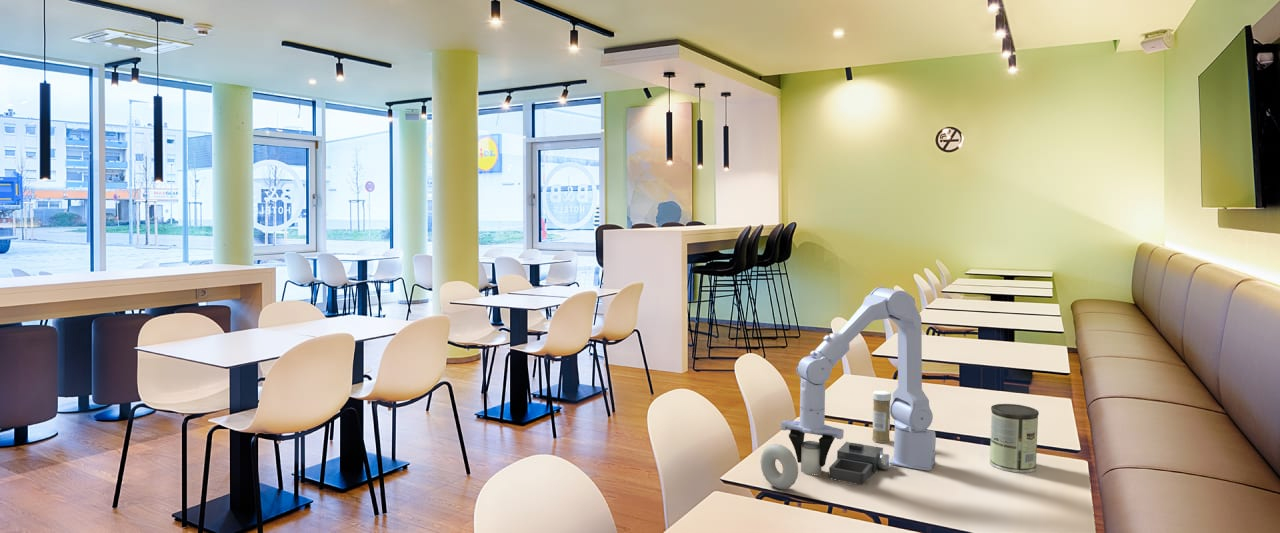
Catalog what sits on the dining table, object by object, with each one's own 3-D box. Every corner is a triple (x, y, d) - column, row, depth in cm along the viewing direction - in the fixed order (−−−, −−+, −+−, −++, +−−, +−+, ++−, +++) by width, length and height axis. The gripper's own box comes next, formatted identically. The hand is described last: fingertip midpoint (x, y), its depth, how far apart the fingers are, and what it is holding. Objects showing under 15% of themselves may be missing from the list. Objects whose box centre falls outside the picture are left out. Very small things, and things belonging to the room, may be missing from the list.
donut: (756, 483, 168) (757, 440, 168) (767, 479, 170) (767, 437, 170) (790, 496, 161) (791, 451, 160) (801, 493, 163) (802, 448, 162)
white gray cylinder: (824, 470, 177) (824, 442, 176) (817, 476, 173) (818, 448, 172) (804, 466, 179) (805, 439, 179) (798, 472, 175) (798, 444, 175)
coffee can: (996, 455, 187) (999, 401, 186) (1041, 465, 180) (1044, 408, 179) (982, 466, 180) (985, 409, 179) (1029, 476, 173) (1031, 417, 172)
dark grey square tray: (873, 472, 175) (873, 462, 175) (863, 485, 167) (864, 474, 167) (839, 466, 179) (839, 456, 179) (828, 478, 171) (828, 468, 171)
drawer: (891, 465, 180) (891, 445, 180) (883, 475, 173) (884, 454, 173) (845, 457, 186) (846, 438, 185) (836, 467, 179) (837, 446, 178)
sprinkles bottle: (893, 441, 198) (894, 392, 197) (882, 444, 196) (883, 394, 195) (879, 437, 202) (880, 389, 201) (868, 440, 199) (869, 391, 198)
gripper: (777, 407, 175) (776, 462, 176) (838, 416, 168) (836, 474, 169) (787, 400, 181) (786, 454, 182) (846, 408, 174) (845, 465, 175)
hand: (811, 463), depth 176 cm, fingers closed on white gray cylinder, 5 cm apart
